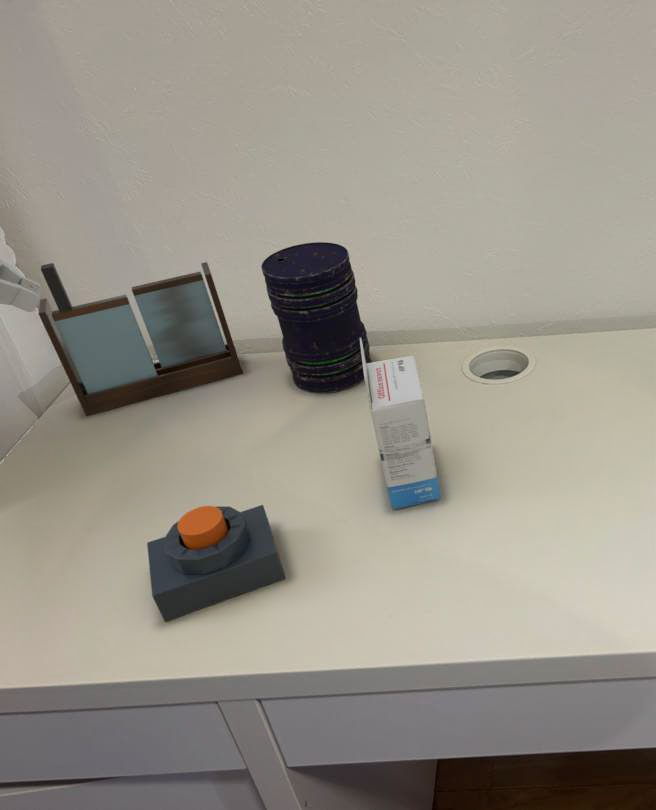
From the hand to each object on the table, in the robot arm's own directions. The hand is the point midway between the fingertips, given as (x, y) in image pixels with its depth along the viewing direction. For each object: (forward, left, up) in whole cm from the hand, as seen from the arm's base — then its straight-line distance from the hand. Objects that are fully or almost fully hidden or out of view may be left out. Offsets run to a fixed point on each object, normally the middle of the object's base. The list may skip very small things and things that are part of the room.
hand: (38, 299), depth 72 cm
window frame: (+6, +17, -20) cm, 27 cm away
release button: (+8, -20, -16) cm, 27 cm away
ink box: (+27, -16, -21) cm, 37 cm away
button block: (+8, -20, -20) cm, 30 cm away
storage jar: (+25, +9, -21) cm, 33 cm away
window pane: (+2, +16, -19) cm, 25 cm away
